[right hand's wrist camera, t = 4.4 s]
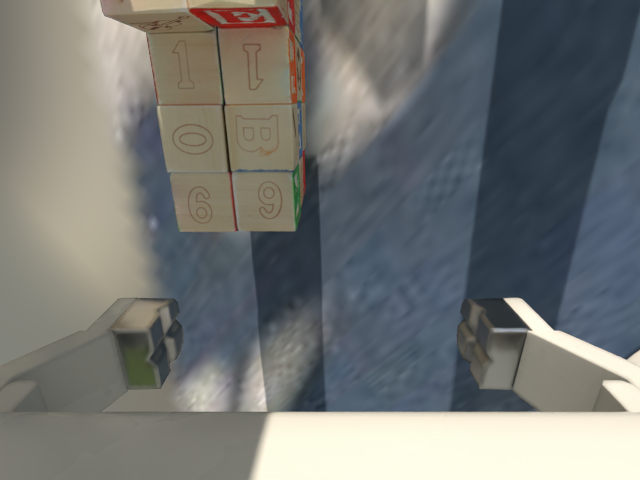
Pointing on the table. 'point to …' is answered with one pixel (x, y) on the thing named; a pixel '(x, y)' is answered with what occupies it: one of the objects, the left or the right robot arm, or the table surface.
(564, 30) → the table surface
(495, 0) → the table surface
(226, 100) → the stack of blocks
